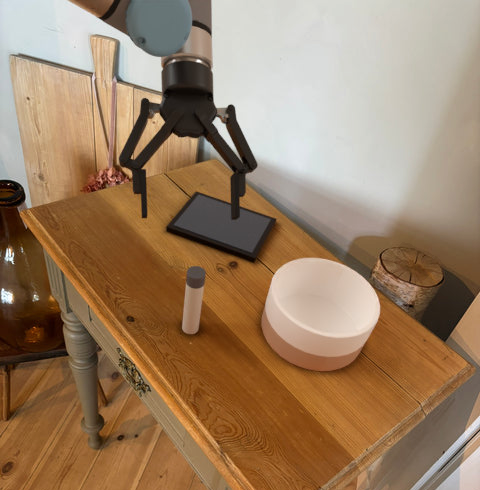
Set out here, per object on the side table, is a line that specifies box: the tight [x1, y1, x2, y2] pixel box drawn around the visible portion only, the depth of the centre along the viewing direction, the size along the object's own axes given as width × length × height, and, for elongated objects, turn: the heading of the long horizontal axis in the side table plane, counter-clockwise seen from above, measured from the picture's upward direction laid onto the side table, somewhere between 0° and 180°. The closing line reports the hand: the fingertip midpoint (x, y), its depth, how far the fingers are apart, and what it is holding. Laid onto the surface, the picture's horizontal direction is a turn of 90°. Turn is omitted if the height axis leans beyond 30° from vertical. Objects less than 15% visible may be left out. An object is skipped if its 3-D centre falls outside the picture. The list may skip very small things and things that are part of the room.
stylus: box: [181, 265, 207, 335], centre depth 68 cm, size 3×3×12 cm
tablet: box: [165, 190, 277, 264], centre depth 91 cm, size 18×14×1 cm
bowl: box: [260, 257, 381, 372], centre depth 74 cm, size 17×17×8 cm
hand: (191, 218), depth 69 cm, fingers open, 13 cm apart
